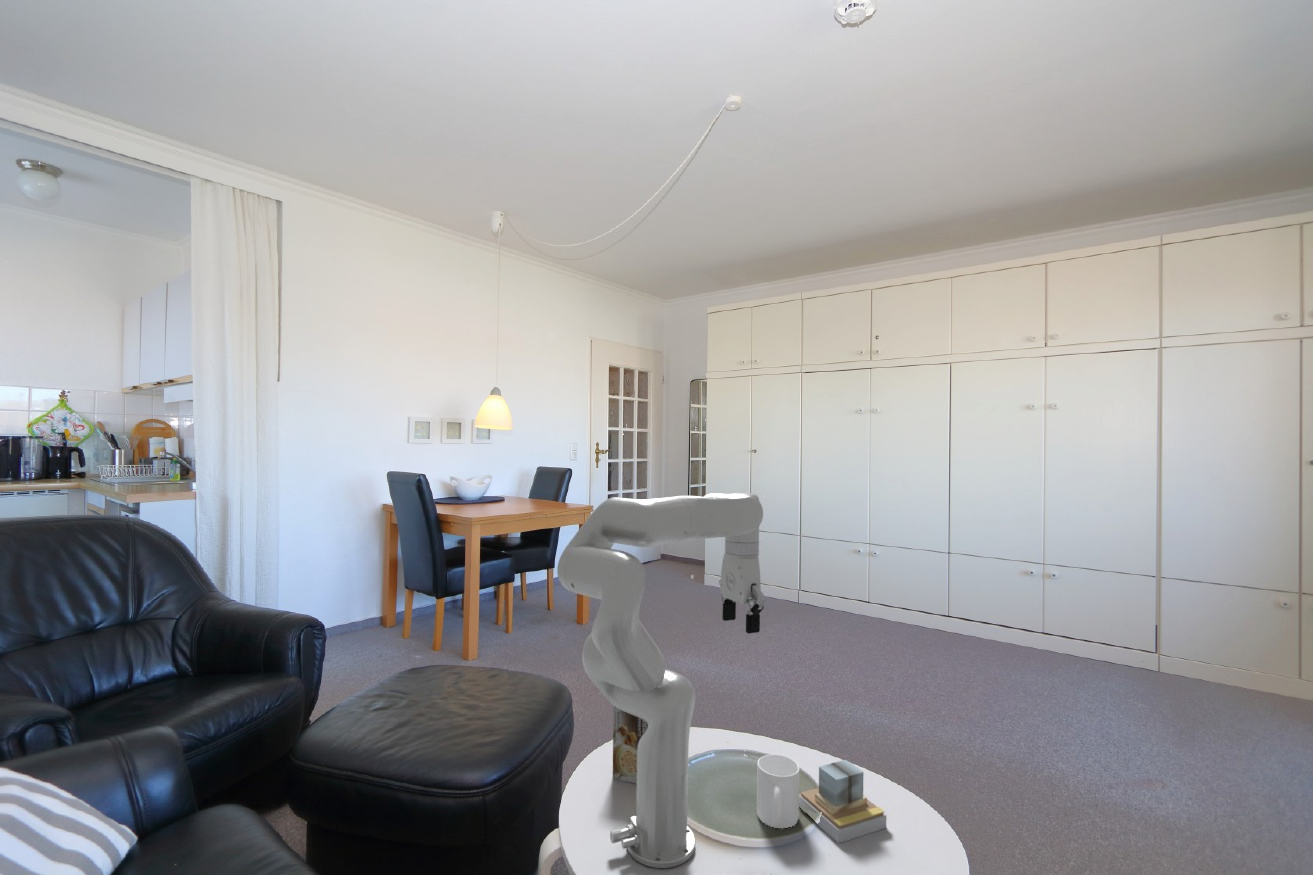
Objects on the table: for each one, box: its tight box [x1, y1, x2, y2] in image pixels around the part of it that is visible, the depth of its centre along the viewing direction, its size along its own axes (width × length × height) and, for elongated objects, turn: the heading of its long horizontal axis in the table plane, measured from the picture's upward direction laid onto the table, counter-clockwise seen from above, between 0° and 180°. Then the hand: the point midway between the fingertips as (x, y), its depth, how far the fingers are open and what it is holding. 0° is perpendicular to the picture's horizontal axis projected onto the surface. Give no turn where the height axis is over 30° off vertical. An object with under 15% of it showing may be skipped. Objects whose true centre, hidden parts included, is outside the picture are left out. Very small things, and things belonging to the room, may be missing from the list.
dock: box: [799, 787, 887, 844], centre depth 115 cm, size 12×12×3 cm
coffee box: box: [612, 705, 648, 784], centre depth 129 cm, size 9×6×16 cm
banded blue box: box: [815, 759, 868, 814], centre depth 115 cm, size 9×5×6 cm, turn 115°
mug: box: [756, 753, 800, 830], centre depth 113 cm, size 12×8×10 cm
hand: (740, 625), depth 127 cm, fingers open, 9 cm apart
